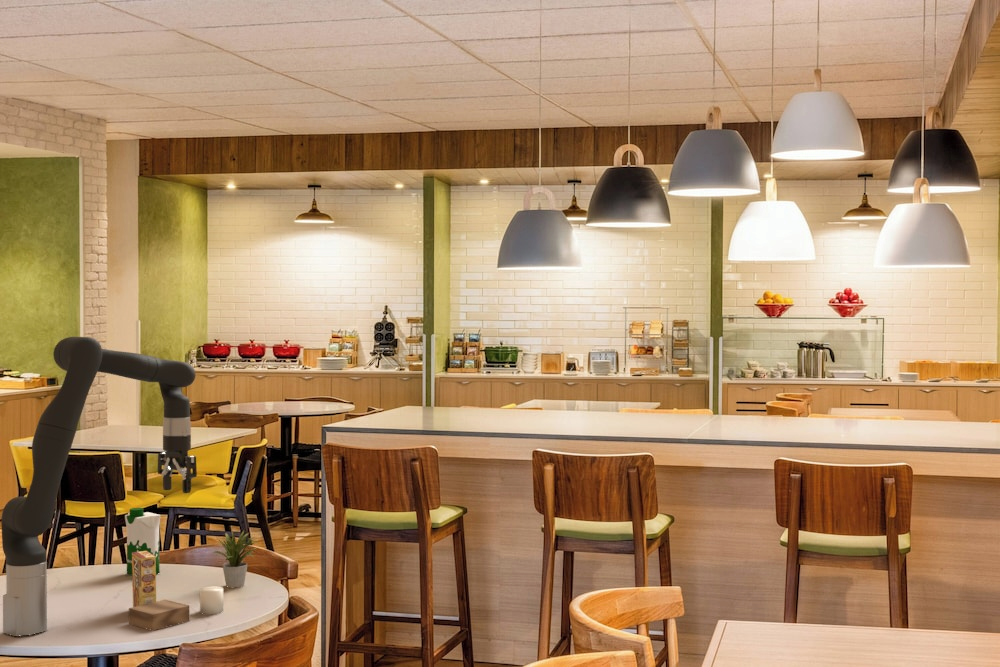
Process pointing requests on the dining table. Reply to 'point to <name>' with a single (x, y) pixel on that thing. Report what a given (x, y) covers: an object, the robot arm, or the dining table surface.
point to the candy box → (143, 578)
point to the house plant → (235, 559)
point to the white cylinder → (211, 600)
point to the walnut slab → (158, 614)
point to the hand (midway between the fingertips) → (176, 491)
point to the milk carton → (142, 535)
